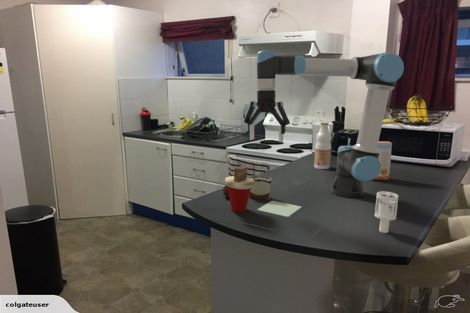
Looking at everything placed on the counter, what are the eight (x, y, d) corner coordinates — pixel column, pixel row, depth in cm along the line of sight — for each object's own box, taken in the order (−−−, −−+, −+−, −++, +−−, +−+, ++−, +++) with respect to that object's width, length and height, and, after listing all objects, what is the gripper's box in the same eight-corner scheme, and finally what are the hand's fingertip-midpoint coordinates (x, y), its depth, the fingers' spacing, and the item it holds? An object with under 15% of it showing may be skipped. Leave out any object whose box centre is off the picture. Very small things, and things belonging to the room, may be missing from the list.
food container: (275, 197, 167) (275, 176, 165) (272, 201, 162) (272, 179, 160) (249, 194, 171) (250, 174, 169) (245, 198, 166) (246, 177, 164)
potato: (229, 193, 172) (229, 181, 171) (245, 198, 166) (245, 185, 165) (218, 197, 167) (218, 184, 166) (235, 202, 161) (235, 188, 159)
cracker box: (385, 177, 204) (389, 140, 200) (388, 180, 199) (392, 142, 194) (360, 176, 206) (363, 140, 201) (362, 179, 200) (365, 142, 196)
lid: (259, 183, 149) (261, 168, 148) (245, 189, 139) (246, 173, 138) (235, 176, 155) (236, 162, 154) (219, 182, 145) (220, 166, 144)
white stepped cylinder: (373, 233, 129) (377, 192, 126) (373, 226, 135) (377, 187, 132) (394, 236, 127) (399, 195, 123) (393, 229, 133) (398, 189, 130)
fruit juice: (311, 167, 226) (313, 122, 220) (319, 165, 233) (322, 121, 227) (324, 170, 220) (327, 124, 214) (332, 167, 226) (335, 123, 220)
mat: (301, 208, 154) (301, 206, 154) (287, 218, 142) (288, 216, 142) (272, 201, 161) (272, 200, 161) (256, 211, 150) (256, 209, 150)
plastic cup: (250, 216, 143) (250, 187, 141) (223, 214, 145) (223, 185, 143) (254, 207, 154) (254, 180, 151) (229, 205, 156) (229, 178, 153)
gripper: (298, 89, 146) (297, 141, 151) (244, 89, 159) (245, 137, 163) (291, 90, 140) (290, 144, 145) (235, 90, 153) (236, 139, 157)
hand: (266, 140), depth 154 cm, fingers open, 13 cm apart
